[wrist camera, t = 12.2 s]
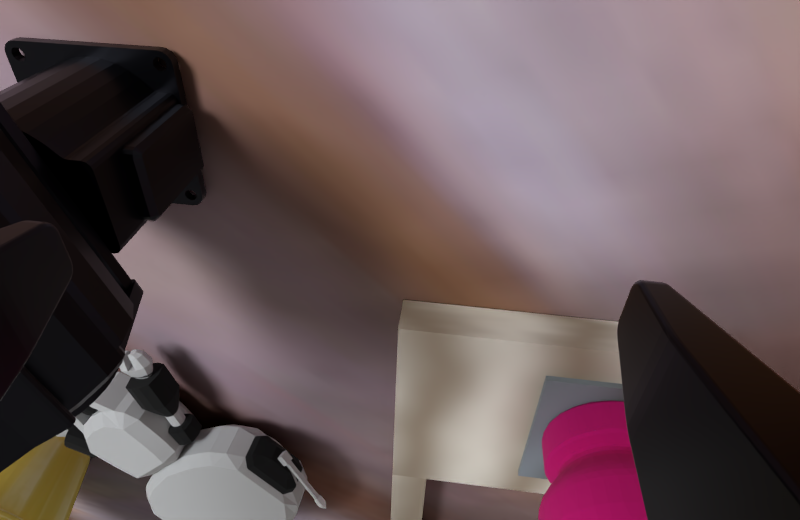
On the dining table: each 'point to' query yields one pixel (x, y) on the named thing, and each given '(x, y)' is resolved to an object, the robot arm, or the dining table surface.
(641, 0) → the dining table surface
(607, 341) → the puzzle board
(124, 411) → the robot toy
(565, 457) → the pepper mill
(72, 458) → the plant pot
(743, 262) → the dining table surface
